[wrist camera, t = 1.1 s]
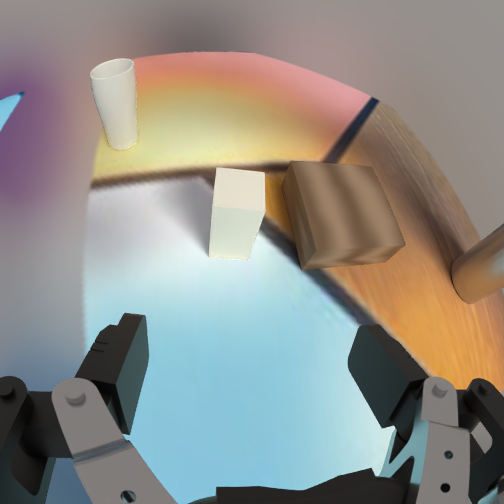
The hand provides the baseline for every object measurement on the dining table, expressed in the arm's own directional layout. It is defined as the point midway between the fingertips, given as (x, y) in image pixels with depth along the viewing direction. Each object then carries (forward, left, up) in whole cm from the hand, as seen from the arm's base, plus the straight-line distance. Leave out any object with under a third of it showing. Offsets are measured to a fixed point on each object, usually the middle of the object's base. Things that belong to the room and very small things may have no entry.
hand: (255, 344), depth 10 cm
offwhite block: (-3, -16, -23) cm, 28 cm away
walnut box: (-19, -18, -23) cm, 35 cm away
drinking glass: (+13, -37, -23) cm, 46 cm away
